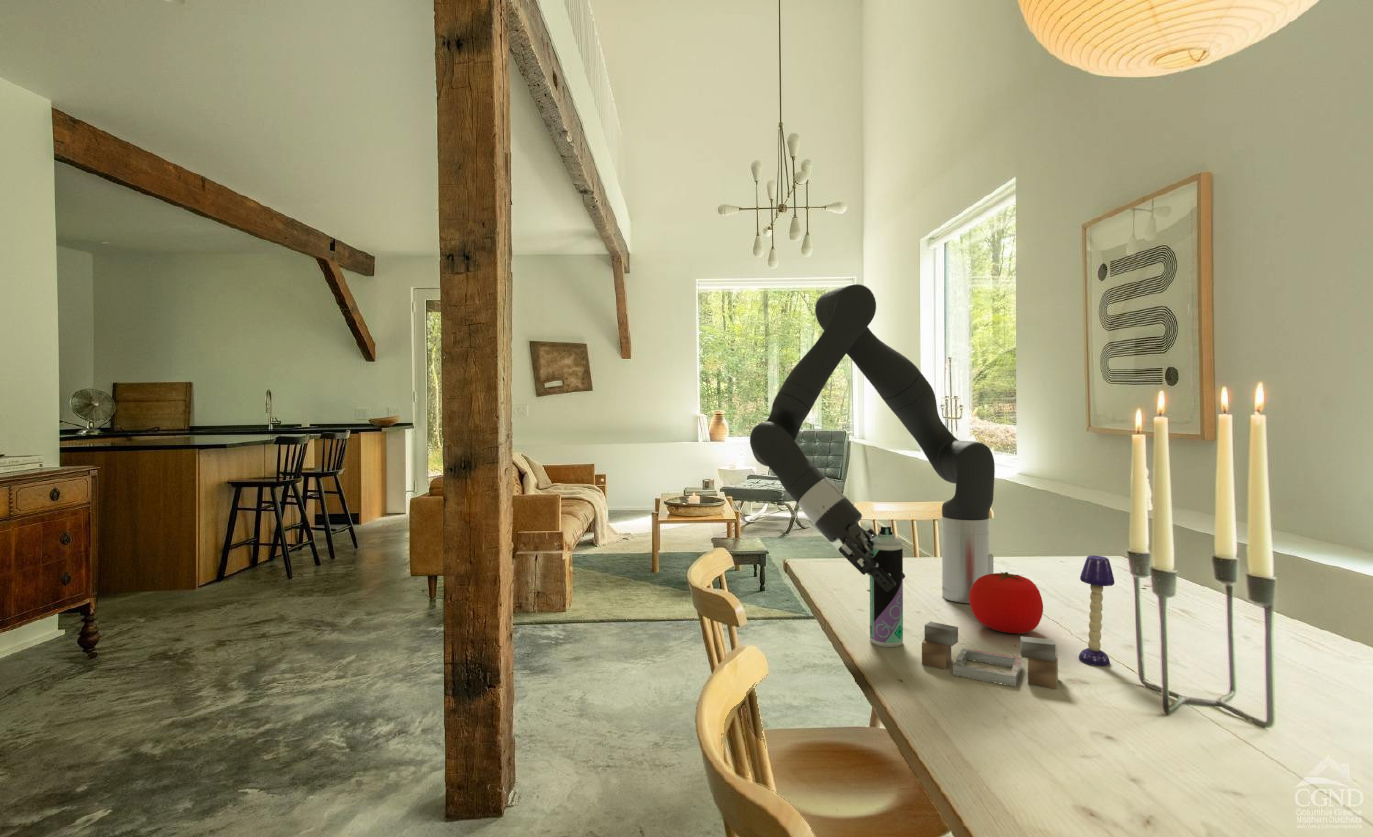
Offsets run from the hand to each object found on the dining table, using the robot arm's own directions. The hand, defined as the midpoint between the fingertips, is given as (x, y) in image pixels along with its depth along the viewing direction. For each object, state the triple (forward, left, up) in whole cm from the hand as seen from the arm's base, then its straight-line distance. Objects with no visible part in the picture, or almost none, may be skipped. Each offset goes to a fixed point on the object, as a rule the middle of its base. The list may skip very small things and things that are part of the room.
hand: (896, 584), depth 118 cm
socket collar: (-7, +15, -10) cm, 19 cm away
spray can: (+1, -1, -10) cm, 11 cm away
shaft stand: (-7, +15, -10) cm, 19 cm away
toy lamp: (-26, +16, -10) cm, 32 cm away
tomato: (-23, -1, -11) cm, 25 cm away
